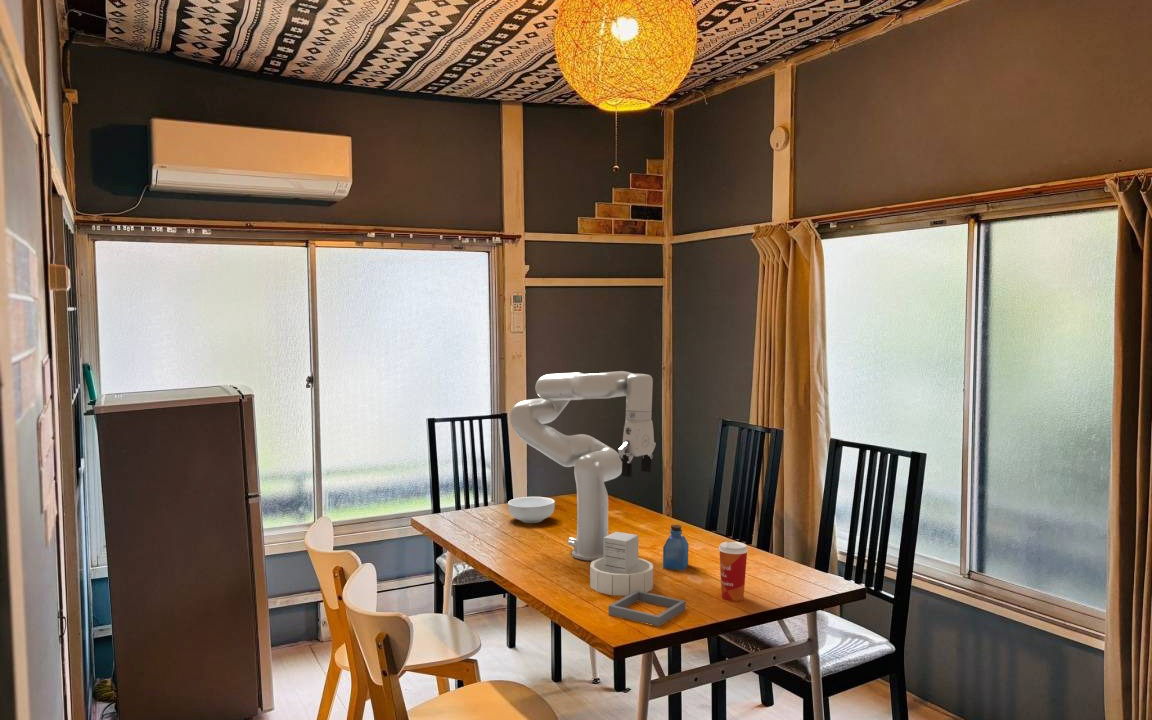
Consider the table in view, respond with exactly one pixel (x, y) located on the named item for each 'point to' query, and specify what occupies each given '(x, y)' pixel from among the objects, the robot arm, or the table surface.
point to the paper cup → (733, 570)
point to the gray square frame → (621, 611)
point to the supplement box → (620, 553)
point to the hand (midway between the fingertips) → (636, 473)
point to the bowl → (621, 579)
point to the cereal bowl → (531, 508)
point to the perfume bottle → (675, 550)
